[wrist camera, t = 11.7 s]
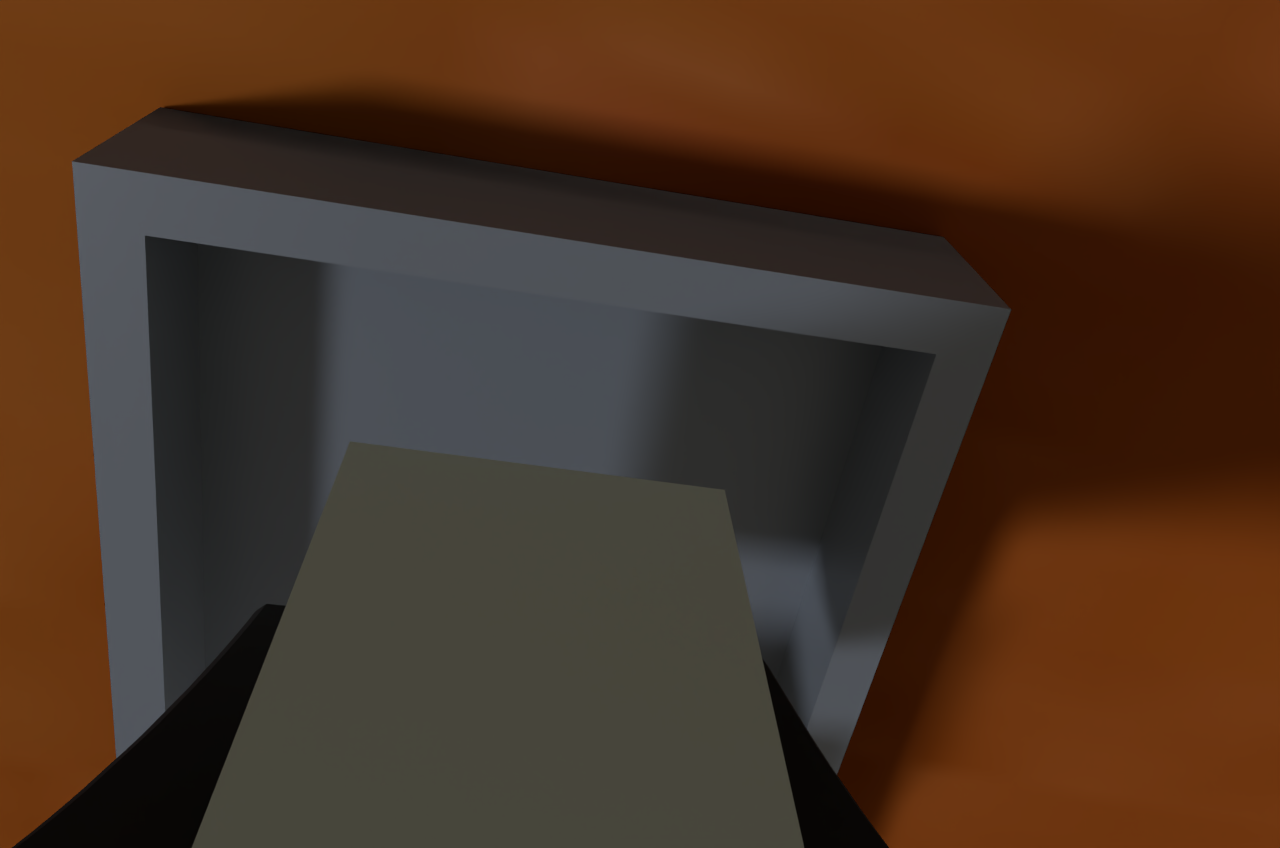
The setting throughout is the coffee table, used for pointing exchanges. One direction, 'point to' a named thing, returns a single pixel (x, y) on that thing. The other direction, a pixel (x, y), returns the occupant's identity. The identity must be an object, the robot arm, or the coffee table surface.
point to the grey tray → (501, 376)
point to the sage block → (509, 671)
